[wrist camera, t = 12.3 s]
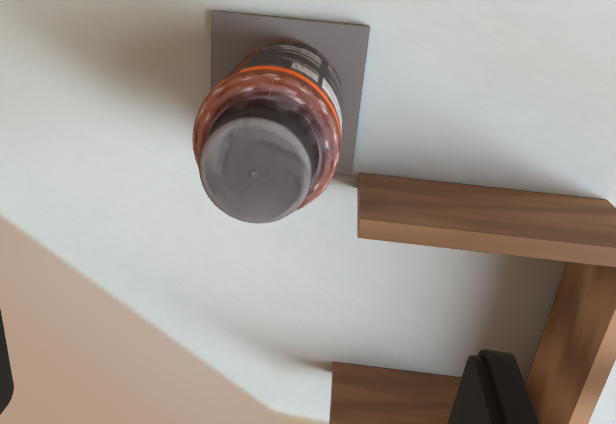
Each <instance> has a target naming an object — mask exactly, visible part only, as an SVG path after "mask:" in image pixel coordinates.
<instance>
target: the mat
mask: <svg viewBox="0 0 616 424" xmlns="http://www.w3.org/2000/svg"><path fill="white" fill-rule="evenodd" d="M369 32H370V26H365V25H355V24H345V23H335V22H325V21H315V20H305V19H295V18H285V17H275V16H265V15H255V14H244V13H234V12H224V11H212V60H211V91H212V90H213V89H214V88H215V87H216V86H217V84H218V83H219V82H220V81H221V80H222V79H223V78H225V77H226V76H227V75H228V74H229V72H230V71H231V70H232V69H233V68H234V67H235V66H236V65H237V64H238V63H239V62H240V61H241V60H242V59H243V58H244V57H245V56H246V55H247V54H249V53H250V52H251V51H253V50H254V49H256V48H258V47H259V46H261V45H263V44H266V43H269V42H273V41H278V40H293V41H298V42H302V43H305V44H308V45H310V46H312V47H313V48H315V49H317V50H318V51H320V52H321V53H322V54H323V55H324V56H325V57H326V58H327V59H328V60H329V61H330V62H331V63H332V65H333V66H334V68H335V70H336V72H337V74H338V76H339V79H340V81H341V85H342V93H343V116H342V135H341V151H340V158H339V162H338V165H337V168H336V170H335V173H334V174H339V175H348V176H351V171H352V163H353V156H354V148H355V140H356V132H357V125H358V117H359V109H360V101H361V94H362V86H363V78H364V70H365V63H366V55H367V47H368V39H369Z"/></svg>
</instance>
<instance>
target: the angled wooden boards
mask: <svg viewBox="0 0 616 424" xmlns="http://www.w3.org/2000/svg"><path fill="white" fill-rule="evenodd" d="M358 238H365V239H373V240H382V241H391V242H400V243H408V244H417V245H426V246H435V247H443V248H452V249H461V250H470V251H478V252H487V253H496V254H505V255H513V256H522V257H531V258H540V259H548V260H557V261H566V262H567V265H566V268H565V271H564V273H563V276H562V279H561V282H560V285H559V288H558V291H557V294H556V297H555V300H554V303H553V305H552V308H551V311H550V314H549V317H548V320H547V323H546V326H545V329H544V332H543V335H542V337H541V340H540V343H539V346H538V349H537V352H536V355H535V358H534V361H533V364H532V367H531V369H530V372H529V375H528V378H527V381H526V384H525V386H526V389H527V391H528V394H529V397H530V399H531V402H532V405H533V407H534V410H535V413H536V415H537V418H538V421H539V423H540V424H588V423H589V420H590V418H591V416H592V413H593V411H594V409H595V406H596V404H597V402H598V399H599V397H600V395H601V392H602V390H603V388H604V385H605V383H606V381H607V378H608V376H609V374H610V371H611V369H612V367H613V364H614V362H615V360H616V208H615V207H614V206H613V205H612V204H611V203H610V202H609V201H608V200H602V199H593V198H584V197H575V196H566V195H557V194H548V193H539V192H529V191H520V190H511V189H502V188H493V187H484V186H475V185H466V184H457V183H447V182H438V181H429V180H420V179H411V178H402V177H393V176H384V175H375V174H365V173H360V174H359V182H358ZM461 379H462V378H459V377H451V376H443V375H434V374H426V373H418V372H410V371H402V370H394V369H386V368H378V367H369V366H361V365H353V364H345V363H337V362H334V365H333V372H332V388H331V405H330V421H329V424H447V423H448V420H449V416H450V413H451V410H452V407H453V404H454V401H455V398H456V394H457V391H458V388H459V385H460V382H461Z"/></svg>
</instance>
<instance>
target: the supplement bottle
mask: <svg viewBox="0 0 616 424" xmlns="http://www.w3.org/2000/svg"><path fill="white" fill-rule="evenodd" d="M342 116H343V93H342V85H341V81H340V79H339V76H338V74H337V72H336V70H335V68H334V66H333V65H332V63H331V62H330V61H329V60H328V59H327V58H326V57H325V56H324V55H323V54H322V53H321V52H320V51H318V50H317V49H315V48H313V47H312V46H310V45H308V44H305V43H302V42H298V41H293V40H278V41H273V42H269V43H266V44H263V45H261V46H259V47H258V48H256V49H254V50H253V51H251V52H250V53H249V54H247V55H246V56H245V57H244V58H243V59H242V60H241V61H240V62H239V63H238V64H237V65H236V66H235V67H234V68H233V69H232V70H231V71H230V72H229V74H228V75H227V76H226V77H225V78H223V79H222V80H221V81H220V82H219V83H218V84H217V86H216V87H215V88H214V89H213V90H212V91H211V92H210V93H209V95H208V96H207V97H206V98H205V100H204V102H203V103H202V105H201V107H200V109H199V112H198V114H197V116H196V120H195V124H194V129H193V150H194V155H195V159H196V162H197V165H198V168H199V173H200V178H201V182H202V185H203V187H204V189H205V192H206V193H207V195H208V197H209V198H210V199H211V201H212V202H213V203H214V204H215V205H216V206H217V207H218V208H219V209H220V210H222V211H223V212H225V213H226V214H227V215H229V216H231V217H234V218H236V219H238V220H241V221H244V222H249V223H269V222H274V221H277V220H280V219H282V218H284V217H286V216H288V215H289V214H291V213H292V212H293V211H295V210H298V209H300V208H302V207H304V206H305V205H307V204H309V203H311V202H312V201H313V200H314V199H315V198H316V197H318V196H319V195H320V194H321V193H322V192H323V191H324V190H325V188H326V187H327V185H328V184H329V183H330V181H331V179H332V177H333V175H334V173H335V170H336V168H337V165H338V162H339V158H340V151H341V135H342Z"/></svg>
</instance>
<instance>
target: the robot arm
mask: <svg viewBox="0 0 616 424" xmlns="http://www.w3.org/2000/svg"><path fill="white" fill-rule="evenodd" d="M13 389H14V385H13V379H12V373H11V368H10V362H9V357H8V351H7V344H6V339H5V334H4V327H3V321H2V316H1V310H0V414H1V413H2V412H3V410H4V409H5V408H6V407H7V405H8V404H9V402H10V400H11V398H12V395H13ZM447 424H540V423H539V421H538V418H537V415H536V413H535V410H534V407H533V405H532V402H531V399H530V397H529V394H528V391H527V389H526V386H525V383H524V381H523V378H522V375H521V373H520V370H519V367H518V365H517V362H516V359H515V357H514V355H512V354H511V353H504V352H498V351H491V350H484V349H483V350H481V351H480V352H479V353H478V356H472V355H471V356H469V358H468V360H467V363H466V366H465V369H464V372H463V375H462V379H461V382H460V385H459V388H458V391H457V394H456V398H455V401H454V404H453V407H452V410H451V413H450V416H449V420H448V423H447Z"/></svg>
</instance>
